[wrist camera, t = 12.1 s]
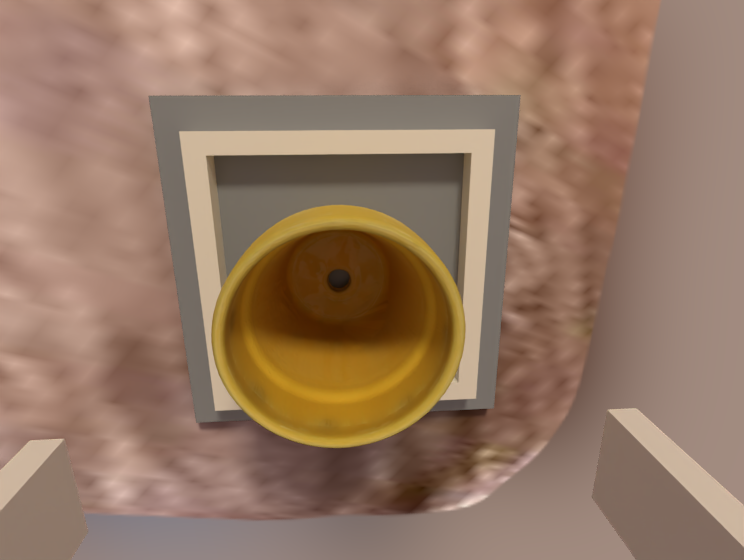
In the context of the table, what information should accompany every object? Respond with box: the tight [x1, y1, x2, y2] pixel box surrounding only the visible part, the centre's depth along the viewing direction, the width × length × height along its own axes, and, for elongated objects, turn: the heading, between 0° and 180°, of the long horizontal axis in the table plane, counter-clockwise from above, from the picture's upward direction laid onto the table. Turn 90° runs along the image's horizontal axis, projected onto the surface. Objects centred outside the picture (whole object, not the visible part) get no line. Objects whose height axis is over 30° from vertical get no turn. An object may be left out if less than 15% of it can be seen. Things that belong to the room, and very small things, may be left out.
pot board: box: [149, 95, 521, 423], centre depth 27 cm, size 20×20×2 cm
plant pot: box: [211, 205, 466, 448], centre depth 23 cm, size 10×10×10 cm
